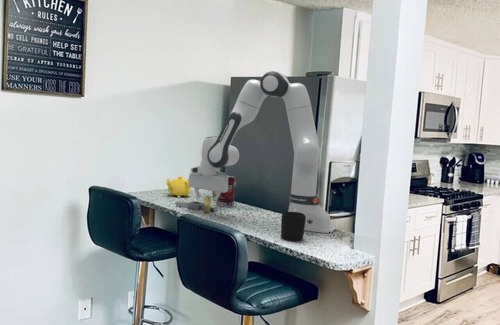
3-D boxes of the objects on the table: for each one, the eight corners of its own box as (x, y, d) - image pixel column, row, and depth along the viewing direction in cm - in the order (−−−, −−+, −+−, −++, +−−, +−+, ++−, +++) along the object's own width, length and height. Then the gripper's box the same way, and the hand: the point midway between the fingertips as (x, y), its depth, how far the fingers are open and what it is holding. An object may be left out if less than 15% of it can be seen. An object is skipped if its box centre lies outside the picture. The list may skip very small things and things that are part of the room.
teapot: (165, 193, 285) (167, 174, 284) (189, 194, 287) (191, 175, 286) (165, 197, 271) (166, 177, 270) (190, 198, 273) (191, 178, 272)
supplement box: (215, 205, 256) (218, 175, 255) (218, 204, 261) (220, 174, 260) (231, 207, 254) (234, 177, 253) (234, 206, 259) (236, 176, 258)
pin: (211, 213, 235) (212, 196, 235) (208, 213, 233) (209, 197, 232) (205, 212, 237) (207, 195, 236) (202, 212, 234) (203, 196, 233)
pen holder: (308, 240, 194) (310, 215, 194) (293, 243, 188) (296, 217, 187) (289, 235, 201) (292, 210, 200) (275, 237, 194) (277, 212, 193)
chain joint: (218, 211, 241) (219, 205, 241) (212, 213, 235) (212, 206, 235) (181, 205, 251) (181, 199, 250) (173, 206, 245) (174, 200, 245)
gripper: (231, 172, 232) (229, 202, 233) (194, 167, 240) (192, 195, 241) (225, 173, 226) (222, 203, 227) (187, 168, 234) (185, 196, 235)
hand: (206, 199), depth 234 cm, fingers open, 8 cm apart
